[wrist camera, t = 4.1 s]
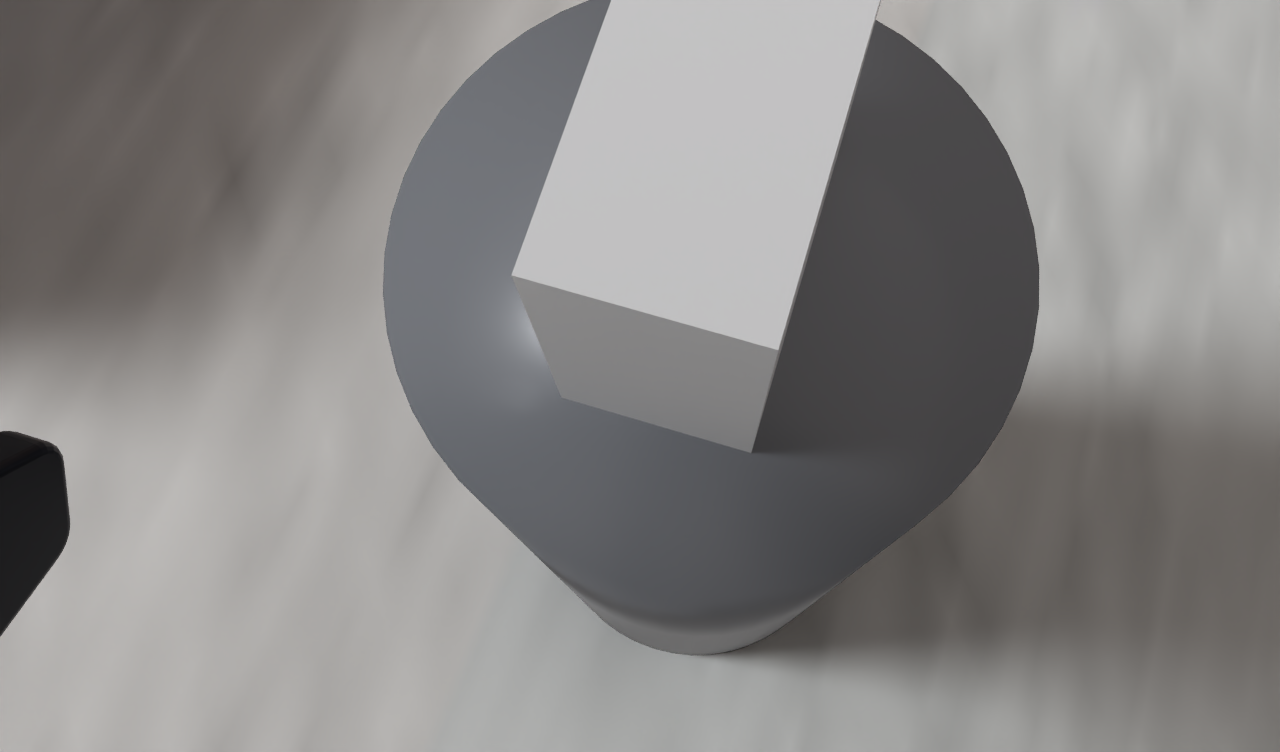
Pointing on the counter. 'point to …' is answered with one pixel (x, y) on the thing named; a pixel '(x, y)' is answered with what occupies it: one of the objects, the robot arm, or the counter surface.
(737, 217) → the gray bottle
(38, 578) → the robot arm
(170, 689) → the counter surface
